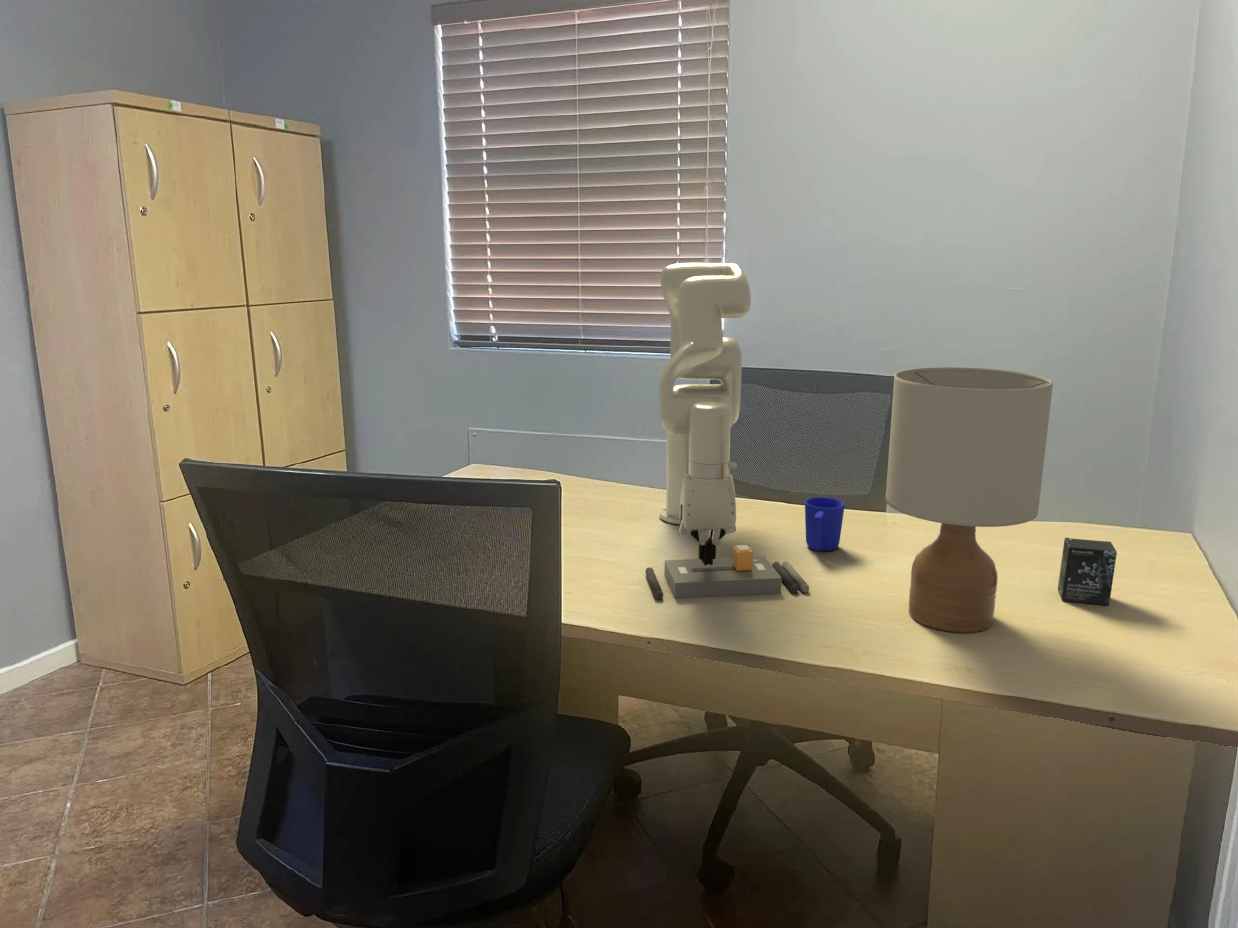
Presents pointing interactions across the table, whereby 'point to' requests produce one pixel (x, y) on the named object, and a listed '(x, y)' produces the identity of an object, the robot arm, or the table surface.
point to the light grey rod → (795, 576)
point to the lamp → (964, 478)
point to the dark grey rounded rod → (654, 583)
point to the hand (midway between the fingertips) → (707, 562)
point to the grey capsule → (786, 577)
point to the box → (1087, 571)
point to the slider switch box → (721, 578)
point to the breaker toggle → (742, 557)
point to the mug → (823, 522)
